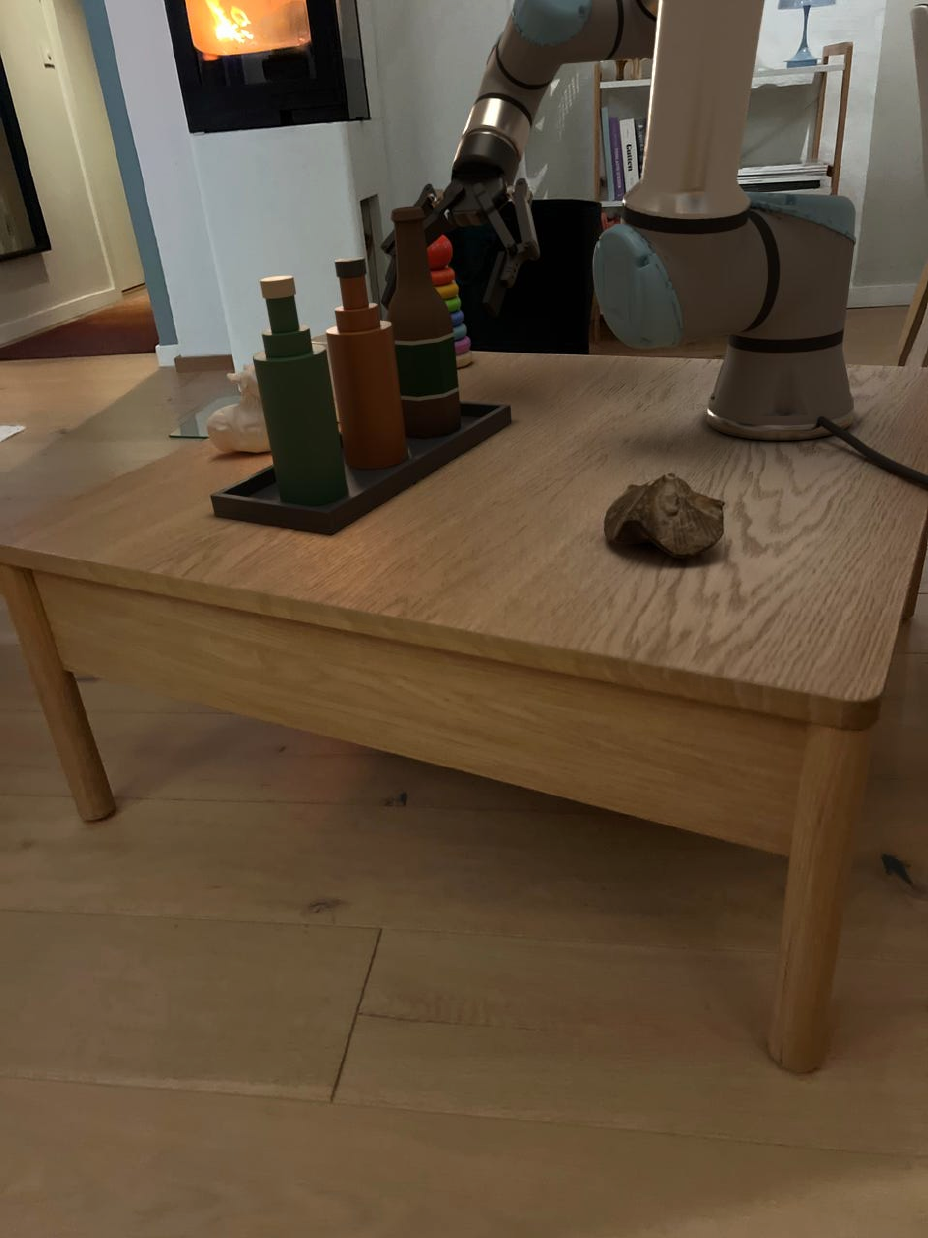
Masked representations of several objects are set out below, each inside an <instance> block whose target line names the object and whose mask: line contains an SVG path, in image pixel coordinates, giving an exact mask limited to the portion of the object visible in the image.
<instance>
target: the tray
mask: <svg viewBox="0 0 928 1238" xmlns="http://www.w3.org/2000/svg"><path fill="white" fill-rule="evenodd" d="M460 407H461V427H460V429H458V430H456V431H454V432H452V433H450V434H449V435H447V436H440V437H432V438H425V439H420V438H412V437H406V443H407V451H408V458H407V459H406V460H405V461H404V462H402V463H400V464H397V465H395V466H391V467H387V468H382V469H373V470H361V469H354V468H351V467H349V466H348V465H347V464H346V460H345V454H344V447H343V441H342V434H341V430H339V435H340V441H341V448H342V454H343V461H344V467H345V473H346V480H347V486H348V491H347V493H346V494H345V495H344V496H343V497H341V498H339V499H337V500H335V501H332V502H329V503H326V504H322V505H316V506H304V505H297V504H290V503H283V502H281V500H280V496H279V491H278V486H277V481H276V476H275V470H274V465H273V463H272V464H270V465H268V466H267V467H263V469H261V470H258V471H256V472H255V473H252V474H250V475H248V476H246V477H244V478H242V479H239V480H237V481H236V482H234V483H232V484H230V485H228V486H225V487H224V488H222V489H219V490H218V491H216V492H213V493H212V494H210V495H209V498H210V501H211V506H212V510H213V515H214V516H215V517H219V518H224V519H232V520H238V521H243V522H249V523H250V522H251V523H256V524H261V525H262V524H263V525H269V526H274V527H281V528H287V529H294V530H299V531H305V532H310V533H318V534H323V535H329V536H332V535H333V534H335V533H337V532H339V531H341V530H342V529H344V528H345V527H347V526H348V525H350V524H352V523H353V522H354V521H356V520H359V518H361V517H363V516H364V515H366V514H367V513H369V512H371V511H372V510H374V509H376V508H377V507H379V506H381V505H382V504H384V503H385V502H387V501H389V500H390V499H391V498H393V497H395V496H396V495H398V494H399V493H401V492H403V491H404V490H406V489H408V488H409V487H411V486H412V485H414V484H416V483H417V482H419V481H420V480H422V479H424V478H425V477H427V476H428V475H430V474H432V473H433V472H435V471H436V470H438V469H440V468H441V467H443V466H445V465H446V464H447V463H449V462H451V461H452V460H454V459H456V458H457V457H458V456H460V455H462V454H464V453H466V451H468V450H470V449H471V448H473V447H475V446H476V445H478V444H479V443H481V442H482V441H485V440H486V439H487V438H489V437H491V436H492V435H494V434H496V433H497V432H498V431H500V430H502V429H504V428H505V427H507V426H508V425H510V424H511V423H512V422H513V420H512V419H513V418H512V405H511V403H510V404H508V403H494V402H479V401H465V400H460Z"/></svg>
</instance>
